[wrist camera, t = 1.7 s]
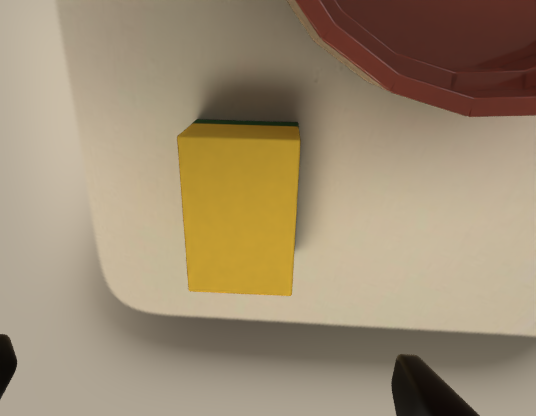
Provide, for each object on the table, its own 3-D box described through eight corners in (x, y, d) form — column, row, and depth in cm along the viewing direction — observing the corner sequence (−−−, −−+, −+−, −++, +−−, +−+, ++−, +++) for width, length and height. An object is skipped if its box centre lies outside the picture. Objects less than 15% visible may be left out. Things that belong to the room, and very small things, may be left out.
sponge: (290, 256, 20) (291, 296, 17) (203, 253, 20) (188, 292, 17) (298, 122, 17) (300, 139, 14) (196, 119, 17) (176, 135, 14)
